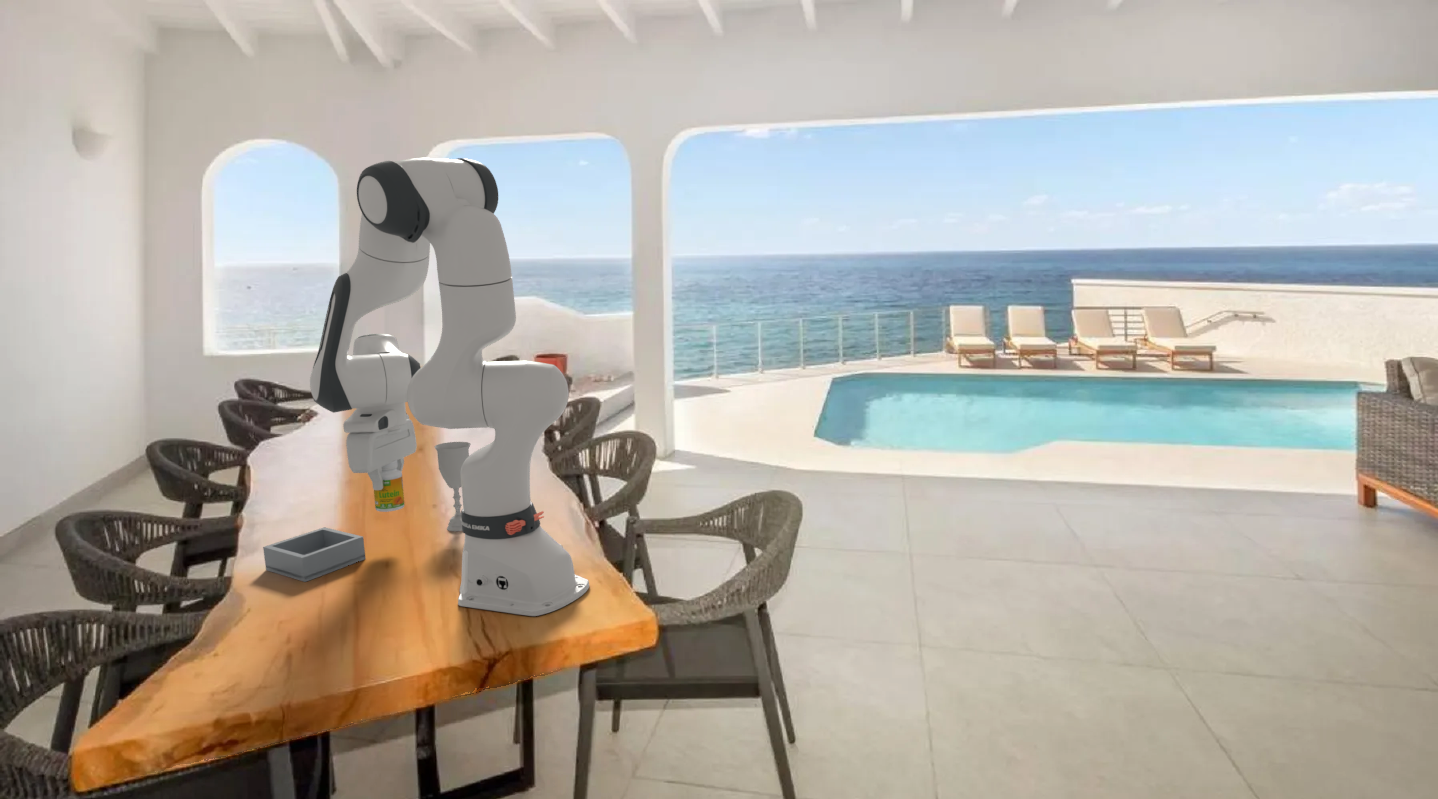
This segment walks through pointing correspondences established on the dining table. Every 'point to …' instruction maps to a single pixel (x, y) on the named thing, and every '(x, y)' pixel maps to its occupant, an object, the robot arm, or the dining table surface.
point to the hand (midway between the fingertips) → (388, 485)
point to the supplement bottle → (390, 489)
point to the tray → (314, 553)
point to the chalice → (453, 474)
